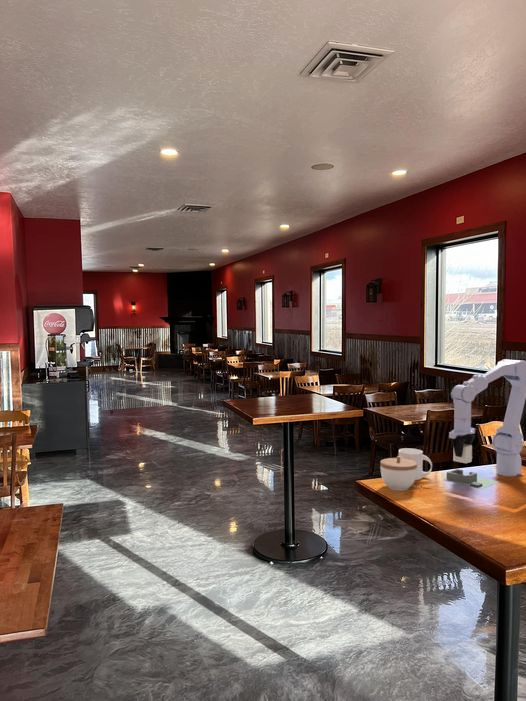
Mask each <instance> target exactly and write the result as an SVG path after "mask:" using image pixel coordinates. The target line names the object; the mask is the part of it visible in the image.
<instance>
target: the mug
mask: <svg viewBox="0 0 526 701" xmlns="http://www.w3.org/2000/svg"><path fill="white" fill-rule="evenodd" d="M423 453H424V451H423V450H421V449H417V448H410V447H409V448H407V447H405V448H399V449H398V456H399V457H400V458H403V459H409V460H413V461H415V462H416V463H417V473H416V478H415V481H417V480H422V479H423V477H427V476H428V475H430V473H431V472H432V471H433V470H432V469H433V462H432V460H431V459H430V458H429V457H428V456H427V455H425V454H423ZM424 461H427V462H428V463H429V464H430V469H429V470H428V471H424V470H423V465H424V464H423V462H424Z"/></svg>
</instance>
